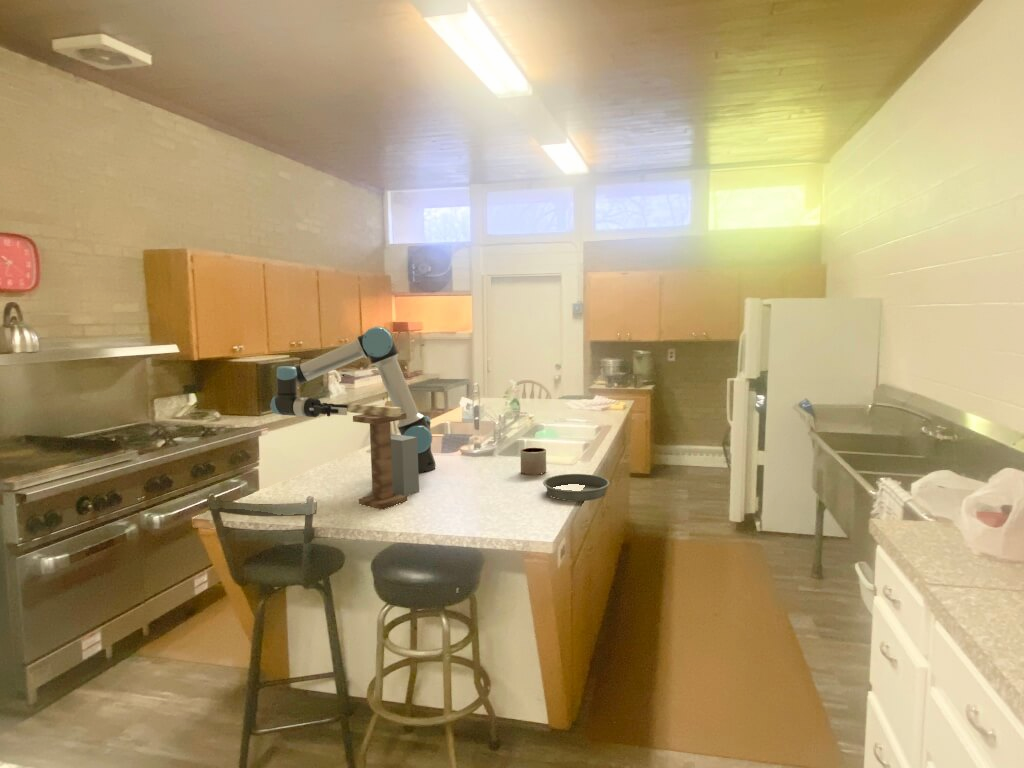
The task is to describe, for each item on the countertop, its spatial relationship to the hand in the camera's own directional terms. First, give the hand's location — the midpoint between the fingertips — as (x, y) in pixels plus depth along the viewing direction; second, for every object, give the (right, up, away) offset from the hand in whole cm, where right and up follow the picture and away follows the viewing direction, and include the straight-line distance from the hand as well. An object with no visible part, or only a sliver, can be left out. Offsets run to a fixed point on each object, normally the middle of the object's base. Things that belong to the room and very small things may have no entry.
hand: (356, 410), depth 255 cm
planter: (+69, -27, +23) cm, 78 cm away
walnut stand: (+14, -32, -19) cm, 40 cm away
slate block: (+16, -31, -3) cm, 35 cm away
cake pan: (+84, -31, -10) cm, 90 cm away
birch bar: (+11, 0, -20) cm, 23 cm away
